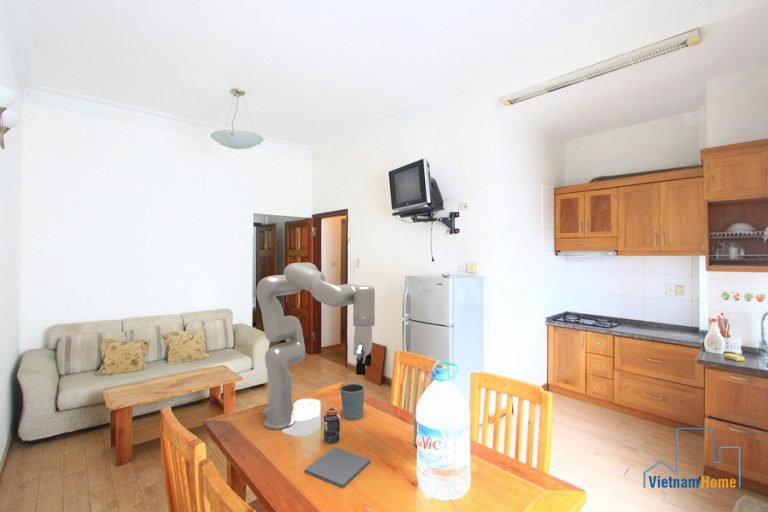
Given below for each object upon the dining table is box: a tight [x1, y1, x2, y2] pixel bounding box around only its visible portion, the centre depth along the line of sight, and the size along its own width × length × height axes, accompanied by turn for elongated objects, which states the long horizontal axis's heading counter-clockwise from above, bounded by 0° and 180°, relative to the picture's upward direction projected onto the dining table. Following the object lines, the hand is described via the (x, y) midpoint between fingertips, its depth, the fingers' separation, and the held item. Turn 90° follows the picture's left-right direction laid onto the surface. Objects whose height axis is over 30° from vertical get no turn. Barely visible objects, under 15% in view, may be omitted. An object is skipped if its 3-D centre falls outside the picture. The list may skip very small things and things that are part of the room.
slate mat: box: [304, 446, 371, 489], centre depth 115 cm, size 15×15×1 cm
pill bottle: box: [323, 406, 341, 444], centre depth 132 cm, size 6×6×11 cm
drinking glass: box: [340, 382, 365, 421], centre depth 152 cm, size 10×10×12 cm
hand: (363, 369), depth 124 cm, fingers open, 9 cm apart
